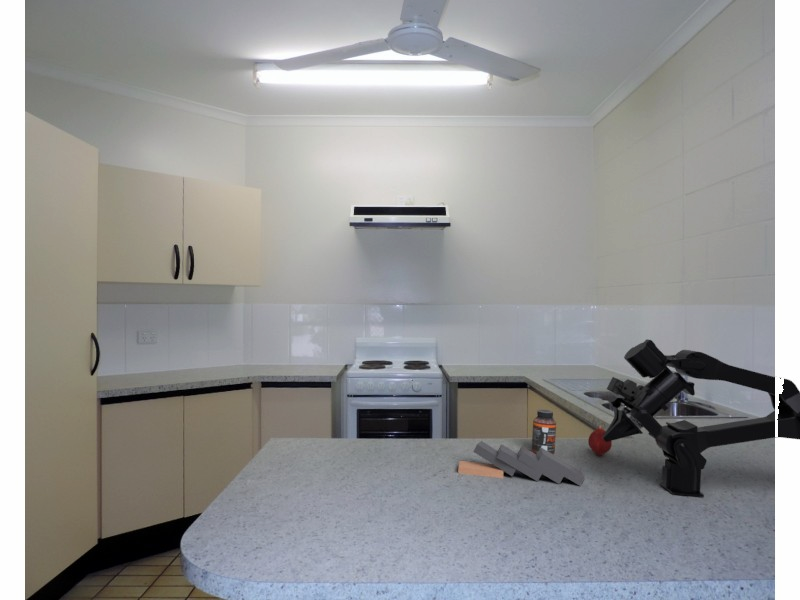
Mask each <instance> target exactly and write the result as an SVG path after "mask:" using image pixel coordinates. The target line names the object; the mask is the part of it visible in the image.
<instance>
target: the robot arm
mask: <svg viewBox="0 0 800 600" xmlns="http://www.w3.org/2000/svg"><path fill="white" fill-rule="evenodd" d="M623 358H624V360H625V361H626V362H627V363H628V364H629V365H630V366H631V367H632V368H633V369H634V370H635V371H636V372H637V373H638V374H639V375H640V377H642V378H649V379H651V380H650V381H649V382H647V383H646V384H645V385H642V384H639V385H638V384H637V383H636V382H635V381H632V380H630V379H626V380H625V381H623V380H622V379H618V378H616V377H614V376H612V377H611V379H610V381H609V383H608V384H607V387H606V390H607V391H609V392H612V393H613V394H615V395H612V396H611V397H610V398H609V399H608V400H607V402H608V403H609V404H610V405H611V406H612V407H613V413H614V415H613V416H614V417H613V419H612V421H611V422H610V425H609V426H608V427H607V429H606V430H605V431H606V432H605V434H604V436H603V437H602V438H603V439H604V440H605V441H606V442H609V441H616V440H619V439H622V438H627V437H630V436H634V435H641V434H643V433H644V432H643V431H642V430H643V428H644V429H645V430H646V431H647V432H648V435H649V436H650V437H652V438H654V440H655V443H656V446H658V448H660V450H662V454H663V456H664V457H666V458H665V459H664V465H663V466H662V467H661V470H662V471H661V481H660V485H661V486H662V487H663V488H664V489H665V490H666V491H668V492H669V493H670V494H672V495H678V496H689V497H698V498H699V497H700V498H703V497H705V493H703V492H702V491H701V481H702V470H703V469H705V466H706V464H707V462H708V461H707V459H706V457H704V456H703V454H701V453H704V451H706V450H708V449H709V448H717V447H721V446H727V445H736V444H741V443H742V444H743V443H749V442H753V441H761V440H767V439H768V440H769V439H773V438H776V437H775V377H776V376H771V375H769V374H764V373H760V372H756V371H752V370H749V369H745V368H742V367H738V366H734V365H729V364H727V363H726V362H724V361H722V360H720V359H718V358H716V357H713V356H711V355H710V354H707V353H704V352H702V351H701V352H700V351H696V350H690V349H682V350H680V351H678V352H677V353H676V354H671V355H668V354H664V353H663V352H662V351H661V349H659V348H658V346H657V345H656V344H655V343H654V341H653V340H651V339H647V338H646V339H645V340H644V341H643V342H641V343H639V344H637V345H635V346H633V347H631V348H630V349H629V350H628V351H627V352H626V353H625V355H624V356H623ZM670 367H671V368H674V370H675V372H673V371H672V370H671V369H670ZM683 376H685V377H689V378H693V379H697V380H698V379H699V380H707V381H723V382H727V383H732V384H735V385H739V386H742V387H746V388H748V389H749V388H751V389H753V390H758V391H761V392H765V393H768V395H769V397H770V402H771V406H772V408H773V410H774V411H773V410H772V412H770V413H769V414H767V415H766V416H764V417H763V416H761V417H756V418H750V419H744V420H738V421H737V420H736V421H731V422H725V423H717V424H711V425H707V426H706V425H705V426H700V427H699V426H698V425H696V424H694V423H692V422H689V420H685V419H683V420H679V421H675V422H665V424H666V425H662V424H660V423H659V422H658V420H657V419H656V418H655V416H656V415H657V414H658V413H659V412H660V411H664V412H666V411H667V410H668V409H669V407H668V406H667V405H668V404H670V403H671V402H672V401H673V400H674V399H675V398H676V397H677V396H679V395H680V394H681V393H682V392H684V393H685V394H687V395H690V396H693V397H694V396H695V391H696V390H695V383H694V382H692V381H687V380H686V379H685V378H684V377H683ZM779 378H780V379H781V378H782V377H779ZM782 386H783V389H784V390H783V392H782V394H779V401H780V403H779V406H778V409H779V414H778V419H777V420H778V437H777V438H782V439H793V440H794V439H795V440H800V390H799V388H798V386H797V385H796V384H795V383H794V382H793V381H792V380H791V379H787V378H784V384H783V385H782Z"/></svg>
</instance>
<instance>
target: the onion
mask: <svg viewBox="0 0 800 600" xmlns="http://www.w3.org/2000/svg"><path fill="white" fill-rule="evenodd" d="M606 431H607V430H605V429H604V428H603V426H602V425H599V426H598V428H597V429H595V430H593V431H592V432H591V433H590V435H589V437H588V446H589V448H590V449H591V451H592V452H594V454H595V455H596V456H598V455H602V456H603V455H605V454H606V453H608V452H609V451H610V450H611V448H612V446H613V445H612V444H613V442H612V441H613V440H612V441H609V442H606V441H605V440H604V439H603V438H602V437H603V436H604V434H605V432H606Z"/></svg>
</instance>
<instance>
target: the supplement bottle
mask: <svg viewBox="0 0 800 600" xmlns="http://www.w3.org/2000/svg"><path fill="white" fill-rule="evenodd" d="M536 412H537V414H536V415H537V416H536V417H534V418H533V421H532V436H531V437H532V438H531V452H533V453H534V454H536V455H537V453H538V451H539V450H540V448H543V449H545V450H546V451H548V452H550V453H551V454H553V455H555V454H556V453H555V452H556V451H555V450H556V437H557V436H556V434H557V433H556V432H557V421H556V420H555V419H554V412H553V411H552V410H548V409H538V410H537V411H536Z"/></svg>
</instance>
